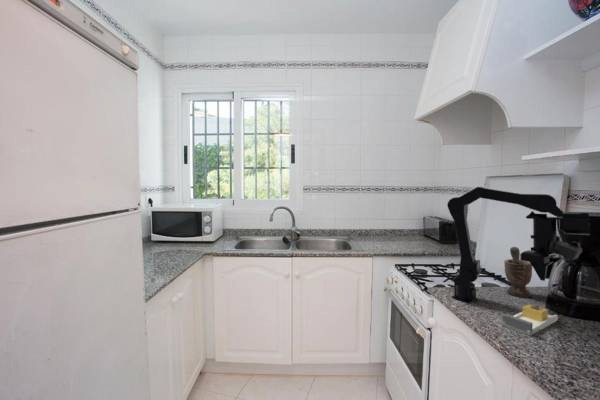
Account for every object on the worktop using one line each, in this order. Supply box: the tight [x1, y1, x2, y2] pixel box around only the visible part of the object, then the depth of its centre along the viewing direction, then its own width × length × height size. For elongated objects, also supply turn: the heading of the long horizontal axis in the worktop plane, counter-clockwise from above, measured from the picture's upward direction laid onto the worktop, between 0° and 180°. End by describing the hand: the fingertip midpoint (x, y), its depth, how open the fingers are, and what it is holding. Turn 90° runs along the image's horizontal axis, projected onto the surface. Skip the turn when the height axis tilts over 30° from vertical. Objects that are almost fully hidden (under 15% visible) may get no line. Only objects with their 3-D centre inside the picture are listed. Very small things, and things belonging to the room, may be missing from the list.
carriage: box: [522, 304, 549, 322], centre depth 88 cm, size 5×4×4 cm
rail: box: [502, 310, 559, 337], centre depth 86 cm, size 7×18×4 cm, turn 118°
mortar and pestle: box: [503, 246, 533, 298], centre depth 108 cm, size 12×9×20 cm
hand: (544, 279), depth 91 cm, fingers open, 3 cm apart
